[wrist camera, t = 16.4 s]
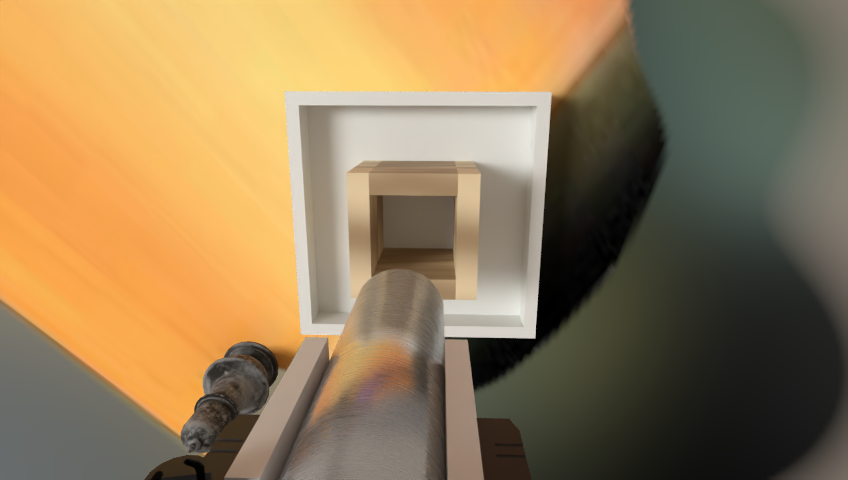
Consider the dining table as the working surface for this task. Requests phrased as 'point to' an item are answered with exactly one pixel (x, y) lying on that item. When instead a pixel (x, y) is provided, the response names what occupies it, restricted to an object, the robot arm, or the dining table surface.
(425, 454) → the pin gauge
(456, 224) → the wooden box
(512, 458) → the robot arm
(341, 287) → the tray
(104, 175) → the dining table surface
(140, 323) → the dining table surface
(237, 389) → the salt shaker
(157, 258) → the dining table surface
